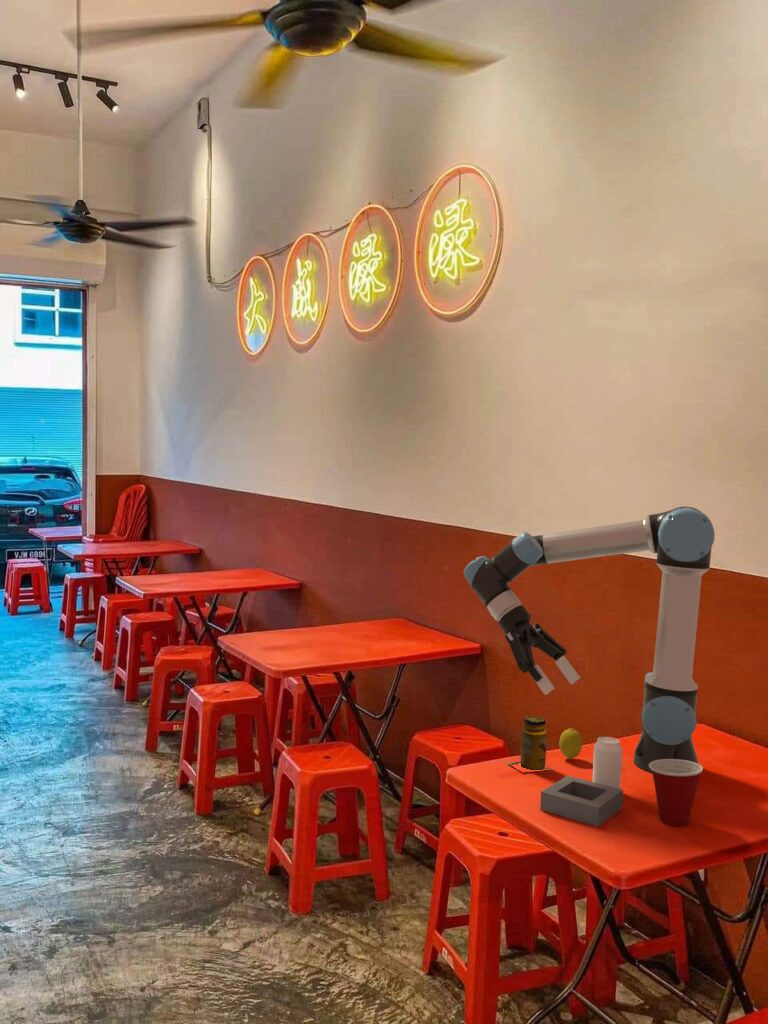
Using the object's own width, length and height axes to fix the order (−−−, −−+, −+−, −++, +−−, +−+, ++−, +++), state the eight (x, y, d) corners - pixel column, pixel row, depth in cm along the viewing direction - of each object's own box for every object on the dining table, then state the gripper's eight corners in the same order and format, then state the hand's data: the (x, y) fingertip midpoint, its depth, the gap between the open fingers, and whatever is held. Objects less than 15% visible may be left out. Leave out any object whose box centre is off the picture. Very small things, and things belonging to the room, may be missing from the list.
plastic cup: (657, 806, 190) (660, 752, 190) (707, 820, 183) (710, 764, 183) (637, 821, 182) (640, 764, 181) (689, 836, 175) (692, 777, 174)
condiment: (552, 770, 211) (554, 721, 211) (523, 774, 208) (525, 724, 207) (535, 760, 218) (537, 713, 217) (506, 764, 214) (508, 716, 214)
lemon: (569, 754, 223) (571, 723, 223) (585, 760, 219) (587, 729, 218) (554, 757, 220) (555, 726, 220) (569, 764, 216) (571, 732, 215)
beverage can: (608, 785, 202) (610, 734, 201) (626, 795, 196) (628, 742, 196) (586, 788, 199) (588, 737, 199) (603, 798, 194) (605, 745, 193)
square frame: (567, 792, 197) (567, 775, 196) (622, 808, 189) (623, 789, 188) (540, 810, 186) (541, 791, 186) (597, 826, 178) (598, 807, 178)
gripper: (524, 616, 223) (575, 685, 215) (472, 629, 203) (527, 705, 195) (543, 598, 220) (596, 668, 211) (493, 609, 200) (549, 686, 192)
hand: (563, 686), depth 203 cm, fingers open, 13 cm apart
